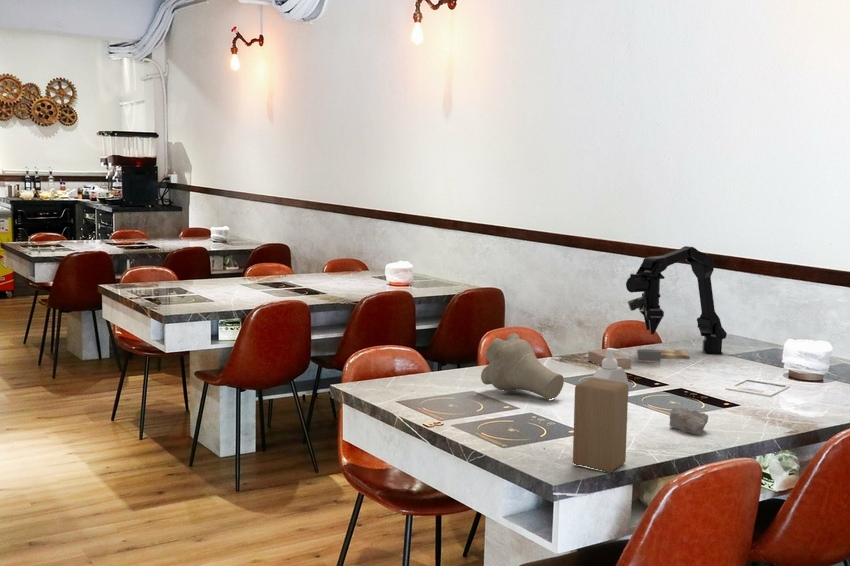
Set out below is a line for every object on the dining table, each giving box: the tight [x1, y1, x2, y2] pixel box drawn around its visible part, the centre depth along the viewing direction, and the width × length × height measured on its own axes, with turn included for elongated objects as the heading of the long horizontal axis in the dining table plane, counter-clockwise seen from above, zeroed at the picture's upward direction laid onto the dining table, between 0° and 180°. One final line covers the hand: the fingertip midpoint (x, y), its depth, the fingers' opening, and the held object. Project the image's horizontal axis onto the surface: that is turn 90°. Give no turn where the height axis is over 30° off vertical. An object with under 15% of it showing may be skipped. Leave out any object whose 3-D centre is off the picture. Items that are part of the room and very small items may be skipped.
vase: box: [480, 332, 565, 401], centre depth 277 cm, size 22×22×28 cm
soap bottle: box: [591, 347, 630, 394], centre depth 255 cm, size 16×5×20 cm, turn 142°
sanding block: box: [637, 348, 662, 363], centre depth 336 cm, size 8×5×4 cm, turn 82°
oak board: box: [636, 348, 690, 360], centre depth 345 cm, size 18×11×1 cm, turn 86°
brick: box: [587, 348, 632, 370], centre depth 327 cm, size 17×8×5 cm, turn 24°
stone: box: [669, 407, 709, 436], centre depth 242 cm, size 10×8×6 cm
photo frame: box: [724, 378, 791, 398], centre depth 293 cm, size 15×1×18 cm
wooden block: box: [572, 377, 629, 473], centre depth 211 cm, size 10×10×20 cm
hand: (650, 332), depth 335 cm, fingers open, 9 cm apart
